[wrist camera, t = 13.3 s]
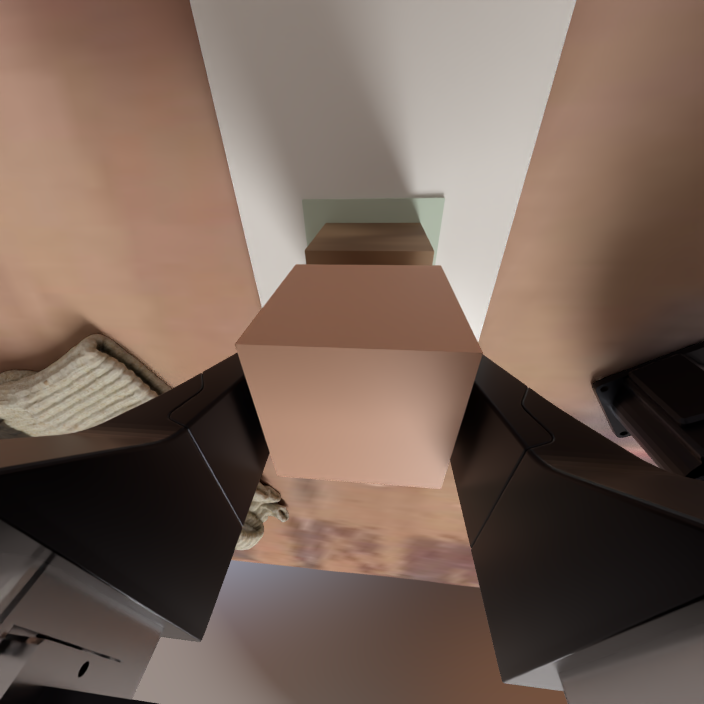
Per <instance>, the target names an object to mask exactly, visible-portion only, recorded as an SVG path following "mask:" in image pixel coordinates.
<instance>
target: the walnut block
mask: <svg viewBox="0 0 704 704" xmlns="http://www.w3.org/2000/svg"><path fill="white" fill-rule="evenodd" d="M433 257H434V250H433V247H432V245H431V243H430V241H429V239H428V237H427V235H426V233H425V231H424V229H423V227H422V225H421V223H325V224H324V226H323V227H322V228H321V230H320V231H319V232H318V234H317V235H316V236H315V237H314V239H313V240H312V241H311V243H310V244H309V245H308V247H307V248H306V249H305V259H306V264H320V265H432V264H433Z"/></svg>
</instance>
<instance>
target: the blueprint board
mask: <svg viewBox="0 0 704 704" xmlns="http://www.w3.org/2000/svg"><path fill="white" fill-rule="evenodd" d="M575 3H576V0H190V4H191V9H192V13H193V17H194V21H195V26H196V30H197V34H198V38H199V43H200V47H201V51H202V55H203V60H204V64H205V68H206V72H207V77H208V81H209V85H210V89H211V94H212V98H213V102H214V106H215V111H216V115H217V119H218V123H219V128H220V132H221V136H222V140H223V145H224V149H225V153H226V157H227V162H228V166H229V170H230V174H231V179H232V183H233V187H234V191H235V196H236V200H237V204H238V208H239V213H240V217H241V221H242V225H243V229H244V234H245V238H246V242H247V246H248V251H249V255H250V259H251V263H252V268H253V272H254V276H255V280H256V285H257V289H258V293H259V297H260V302H261V306H262V308H263V307H264V305H265V304H266V303H267V301H268V300H269V299H270V297H271V296H272V295H273V293H274V292H275V291H276V289H277V288H278V287H279V286H280V284H281V283H282V282H283V280H284V279H285V278H286V276H287V275H288V274H289V272H290V271H291V270H292V268H293V267H294V266H295V265H296V264H306V259H305V249H306V248H307V247H308V245H309V244H310V243H311V241H312V240H313V239H314V237H315V236H316V235H317V234H318V232H319V231H320V230H321V228H322V227H323V226H324V224H325V223H421V225H422V227H423V229H424V231H425V233H426V235H427V237H428V239H429V241H430V243H431V245H432V247H433V250H434V257H433V264H432V265H441V266H442V268H443V271H444V273H445V275H446V277H447V279H448V281H449V283H450V285H451V287H452V289H453V291H454V294H455V296H456V298H457V300H458V302H459V304H460V306H461V308H462V310H463V312H464V314H465V316H466V319H467V321H468V323H469V325H470V327H471V329H472V331H473V333H474V335H475V337H476V339H477V342H478V341H479V337H480V334H481V330H482V327H483V323H484V320H485V316H486V313H487V309H488V306H489V302H490V299H491V295H492V292H493V289H494V285H495V282H496V278H497V275H498V271H499V268H500V264H501V261H502V257H503V254H504V250H505V247H506V243H507V240H508V236H509V233H510V229H511V226H512V222H513V219H514V215H515V212H516V208H517V205H518V201H519V198H520V194H521V191H522V187H523V184H524V181H525V177H526V174H527V170H528V167H529V163H530V160H531V156H532V153H533V149H534V146H535V142H536V139H537V135H538V132H539V128H540V125H541V121H542V118H543V114H544V111H545V107H546V104H547V100H548V97H549V93H550V90H551V86H552V83H553V80H554V76H555V73H556V69H557V66H558V62H559V59H560V55H561V52H562V48H563V45H564V41H565V38H566V34H567V31H568V27H569V24H570V20H571V17H572V13H573V10H574V6H575Z"/></svg>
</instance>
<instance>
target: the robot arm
mask: <svg viewBox="0 0 704 704" xmlns="http://www.w3.org/2000/svg"><path fill="white" fill-rule="evenodd" d="M592 388H593V391H594V393H595V395H596V397H597V399H598V401H599V403H600V406H601V408H602V410H603V412H604V414H605V416H606V418H607V420H608V423H609V425H610V427H611V429H612V431H613V433H614V434H615V435H616V436H617V437H619V438H623V437H627V436H631V435H632V437H633V438H634V439H635V440H636V441H637V442H638V443H639V445H640V446H641V447H642V448H643V449H644V450H645V452H646V453H647V454H648V455H649V456H650V457H651V459H652V460H653V461H654V462H655V463H656V464H657V466H658V467H659V468H658V467H656V466H654V465H652V464H650V463H648V462H646V461H644V460H642V459H640V458H639V457H637V456H635V455H634V454H632V453H630V452H629V451H627V450H625V449H624V448H622V447H621V446H619V445H617V444H616V443H614V442H612V441H611V440H609V439H608V438H606V437H604V436H603V435H601V434H599V433H598V432H596V431H594V430H593V429H591V428H590V427H588V426H586V425H585V424H583V423H581V422H580V421H578V420H577V419H575V418H574V417H572V416H570V415H569V414H567V413H566V412H564V411H562V410H561V409H559V408H558V407H556V406H555V405H553V404H552V403H550V402H549V401H548V400H546V399H545V398H543V397H542V396H540V395H539V394H537V393H536V392H535V391H533V390H532V389H531V388H528V387H527V386H526V385H525V384H523V383H522V382H521V381H519V380H518V379H516V378H515V377H514V376H512V375H511V374H509V373H508V372H507V371H505V370H504V369H502V368H501V367H500V366H498V365H497V364H495V363H494V362H493V361H491V360H490V359H488V358H487V357H486V356H484V355H483V354H482V357H481V361H480V364H479V367H478V370H477V374H476V377H475V380H474V383H473V387H472V390H471V393H470V396H469V400H468V403H467V406H466V409H465V413H464V416H463V419H462V422H461V426H460V429H459V432H458V435H457V439H456V442H455V445H454V448H453V452H452V455H451V458H450V462H451V466H452V470H453V475H454V479H455V483H456V487H457V492H458V496H459V500H460V504H461V509H462V513H463V517H464V521H465V526H466V530H467V534H468V538H469V543H470V547H471V548H472V549H471V552H472V556H473V560H474V564H475V569H476V573H477V577H478V582H479V586H480V590H481V594H482V598H483V603H484V607H485V611H486V615H487V620H488V624H489V628H490V632H491V637H492V640H493V645H494V649H495V654H496V658H497V662H498V667H499V671H500V674H501V678H502V681H503V683H508V684H515V685H523V686H530V687H537V688H545V689H552V690H560V691H564V694H565V697H566V699H567V703H568V704H704V341H703V342H700V343H698V344H695V345H692V346H690V347H687V348H684V349H682V350H679V351H676V352H674V353H671V354H668V355H666V356H663V357H660V358H658V359H655V360H652V361H650V362H647V363H644V364H641V365H639V366H636V367H633V368H631V369H628V370H625V371H623V372H620V373H617V374H615V375H612V376H609V377H607V378H604V379H601V380H599V381H597V382H595V383H594V384H593V386H592ZM269 453H270V452H269V448H268V445H267V442H266V439H265V436H264V433H263V430H262V427H261V424H260V421H259V418H258V415H257V411H256V408H255V405H254V402H253V399H252V396H251V393H250V390H249V387H248V384H247V381H246V377H245V374H244V371H243V368H242V365H241V362H240V359H239V356H238V353H236V354H234V355H232V356H230V357H229V358H227V359H225V360H223V361H221V362H220V363H218V364H216V365H214V366H213V367H211V368H209V369H207V370H206V371H204V372H203V374H202V373H200V374H198V375H197V376H195V377H193V378H191V379H190V380H188V381H186V382H184V383H182V384H180V385H178V386H177V387H175V388H173V389H171V390H169V391H167V392H165V393H163V394H161V395H159V396H157V397H155V398H153V399H151V400H149V401H147V402H145V403H143V404H141V405H138V406H136V407H134V408H132V409H130V410H128V411H126V412H124V413H122V414H120V415H118V416H116V417H114V418H112V419H110V420H108V421H106V422H103V423H101V424H99V425H97V426H94V427H91V428H88V429H86V430H82V431H78V432H74V433H69V434H62V435H50V436H38V437H25V438H13V439H0V704H157V703H151V702H144V701H138V700H132V698H133V696H134V694H135V692H136V689H137V687H138V685H139V683H140V681H141V678H142V676H143V674H144V672H145V670H146V668H147V665H148V663H149V661H150V659H151V657H152V654H153V652H154V650H155V648H156V646H157V644H158V641H159V639H160V637H167V638H174V639H182V640H189V641H196V642H201V640H202V638H203V636H204V633H205V631H206V628H207V625H208V622H209V620H210V617H211V614H212V611H213V609H214V606H215V603H216V600H217V598H218V595H219V592H220V589H221V586H222V584H223V581H224V578H225V575H226V573H227V569H228V567H229V564H230V561H231V559H232V556H233V553H234V550H235V548H236V545H237V542H238V539H239V537H240V534H241V531H242V526H243V525H244V522H245V520H246V517H247V514H248V511H249V508H250V506H251V503H252V500H253V497H254V495H255V492H256V489H257V486H258V484H259V481H260V478H261V475H262V473H263V470H264V467H265V464H266V461H267V459H268V456H269Z"/></svg>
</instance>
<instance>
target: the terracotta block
mask: <svg viewBox="0 0 704 704" xmlns="http://www.w3.org/2000/svg"><path fill="white" fill-rule="evenodd" d="M235 347H236V350H237V353H238V356H239V359H240V362H241V365H242V368H243V371H244V374H245V377H246V381H247V384H248V387H249V390H250V393H251V396H252V399H253V402H254V405H255V408H256V411H257V415H258V418H259V421H260V424H261V427H262V430H263V433H264V436H265V439H266V442H267V445H268V448H269V452H270V455H271V458H272V461H273V464H274V467H275V470H276V473H277V476H281V477H293V478H306V479H319V480H332V481H345V482H358V483H371V484H384V485H397V486H410V487H423V488H436V489H441V487H442V484H443V481H444V478H445V474H446V471H447V468H448V465H449V461H450V458H451V455H452V452H453V448H454V445H455V442H456V439H457V435H458V432H459V429H460V426H461V422H462V419H463V416H464V413H465V409H466V406H467V403H468V400H469V396H470V393H471V390H472V387H473V383H474V380H475V377H476V374H477V370H478V367H479V364H480V361H481V357H482V354H483V352H482V350H481V348H480V346H479V344H478V342H477V339H476V337H475V335H474V333H473V331H472V329H471V327H470V325H469V323H468V321H467V319H466V316H465V314H464V312H463V310H462V308H461V306H460V304H459V302H458V300H457V298H456V296H455V294H454V291H453V289H452V287H451V285H450V283H449V281H448V279H447V277H446V275H445V273H444V271H443V268H442V266H441V265H320V264H296V265H295V266H294V267H293V268H292V270H291V271H290V272H289V274H288V275H287V276H286V278H285V279H284V280H283V282H282V283H281V284H280V286H279V287H278V288H277V289H276V291H275V292H274V293H273V295H272V296H271V297H270V299H269V300H268V301H267V303H266V304H265V305H264V307H263V308H262V309H261V310H260V312H259V313H258V314H257V316H256V317H255V318H254V320H253V321H252V322H251V324H250V325H249V326H248V328H247V329H246V330H245V331H244V333H243V334H242V335H241V337H240V338H239V339H238V341H237V342H236V343H235Z"/></svg>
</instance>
